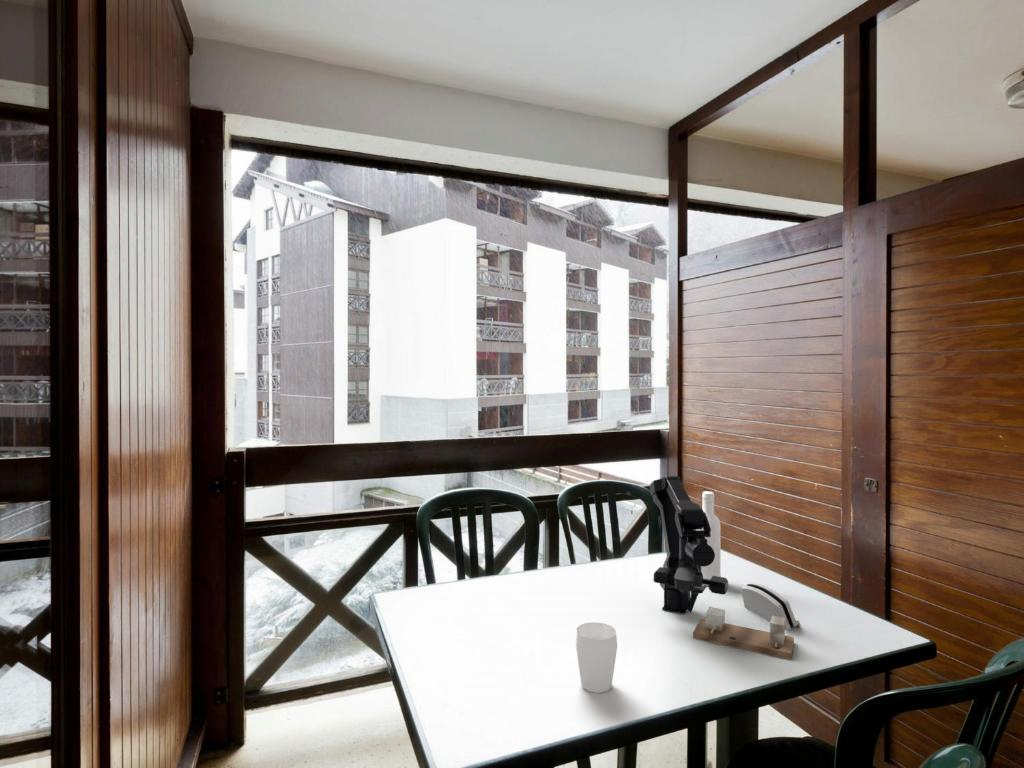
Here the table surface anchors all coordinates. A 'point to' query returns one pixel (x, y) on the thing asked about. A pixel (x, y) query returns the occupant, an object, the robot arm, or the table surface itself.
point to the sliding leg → (715, 619)
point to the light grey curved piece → (768, 603)
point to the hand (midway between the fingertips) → (690, 611)
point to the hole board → (751, 637)
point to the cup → (596, 655)
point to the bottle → (712, 536)
